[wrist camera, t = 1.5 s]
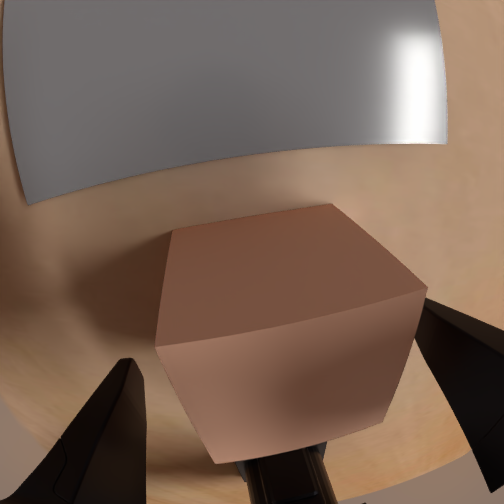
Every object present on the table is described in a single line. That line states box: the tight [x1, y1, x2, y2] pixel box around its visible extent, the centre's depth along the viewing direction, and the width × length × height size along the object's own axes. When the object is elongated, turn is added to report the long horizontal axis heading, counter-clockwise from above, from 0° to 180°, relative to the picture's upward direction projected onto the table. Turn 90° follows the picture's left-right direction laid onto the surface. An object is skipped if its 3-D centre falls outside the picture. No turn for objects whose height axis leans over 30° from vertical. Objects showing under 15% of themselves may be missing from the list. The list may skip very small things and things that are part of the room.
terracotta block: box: [155, 204, 428, 464], centre depth 9 cm, size 6×6×6 cm
